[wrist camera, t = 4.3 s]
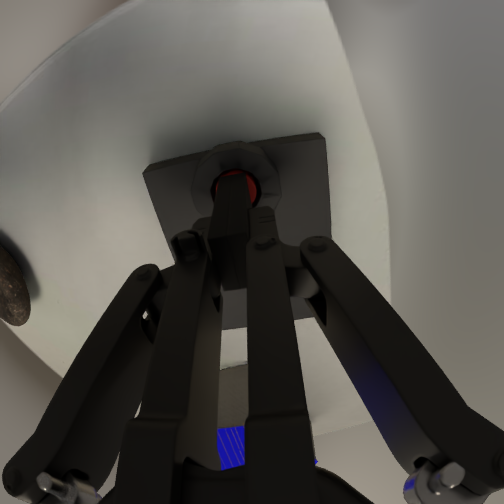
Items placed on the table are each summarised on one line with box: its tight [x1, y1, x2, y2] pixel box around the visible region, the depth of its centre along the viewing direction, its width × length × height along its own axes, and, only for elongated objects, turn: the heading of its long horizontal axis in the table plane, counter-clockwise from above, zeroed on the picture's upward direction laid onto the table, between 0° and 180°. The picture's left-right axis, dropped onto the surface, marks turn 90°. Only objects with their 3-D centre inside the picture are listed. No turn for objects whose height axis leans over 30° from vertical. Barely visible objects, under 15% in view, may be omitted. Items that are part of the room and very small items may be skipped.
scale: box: [142, 133, 332, 330], centre depth 22 cm, size 17×12×4 cm
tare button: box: [216, 168, 256, 203], centre depth 18 cm, size 2×2×2 cm
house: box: [217, 364, 318, 470], centre depth 35 cm, size 25×16×16 cm, turn 22°
